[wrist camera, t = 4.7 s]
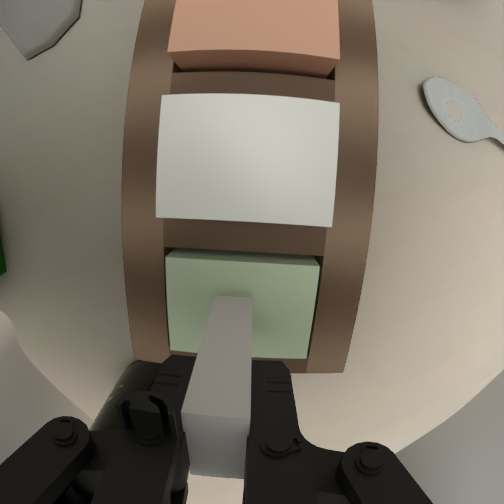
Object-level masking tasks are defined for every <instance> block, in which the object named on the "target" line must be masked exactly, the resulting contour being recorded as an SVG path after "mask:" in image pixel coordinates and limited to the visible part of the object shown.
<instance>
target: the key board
mask: <svg viewBox="0 0 504 504" xmlns="http://www.w3.org/2000/svg"><path fill="white" fill-rule="evenodd" d="M175 4H176V0H145V2H144V6H143V10H142V14H141V19H140V23H139V28H138V33H137V38H136V43H135V49H134V55H133V61H132V67H131V74H130V81H129V88H128V97H127V106H126V116H125V128H124V142H123V160H122V241H123V261H124V275H125V287H126V298H127V307H128V316H129V324H130V331H131V339H132V345H133V352H134V358H135V359H137V360H143V361H150V362H156V363H162V362H164V361H165V360H166V359H167V358H168V357H170V356H171V355H172V354H175V355H183V356H193V357H197V354H198V353H193V352H184V351H175V350H170V339H169V325H168V310H167V291H166V262H165V257H166V256H167V255H168V254H169V253H170V252H171V251H172V250H173V249H175V248H176V247H177V248H194V249H211V250H229V251H246V252H263V253H280V254H298V255H313V257H314V258H315V260H316V261H317V263H318V264H319V266H320V270H319V278H318V285H317V293H316V300H315V307H314V314H313V320H312V327H311V333H310V339H309V345H308V351H307V357H306V359H289V358H260V357H252V360H267V361H282V362H283V363H284V364H285V365H286V367H287V368H288V369H289V370H290V373H343V370H344V367H345V363H346V359H347V355H348V351H349V346H350V342H351V338H352V333H353V329H354V324H355V320H356V315H357V310H358V305H359V300H360V294H361V289H362V283H363V277H364V271H365V265H366V259H367V252H368V245H369V238H370V230H371V221H372V212H373V203H374V192H375V180H376V166H377V147H378V63H377V45H376V32H375V21H374V12H373V3H372V0H338V15H339V40H340V60H339V61H338V63H337V64H336V65H335V67H334V68H333V69H332V71H331V72H330V73H329V75H328V76H327V77H326V79H322V78H314V77H306V76H298V75H288V74H276V73H261V72H232V71H210V72H182V71H181V69H180V68H179V67H178V66H177V64H176V63H175V62H174V60H173V59H172V58H171V56H170V55H169V54H168V53H167V50H168V44H169V37H170V31H171V25H172V20H173V14H174V9H175ZM204 93H225V94H256V95H272V96H285V97H296V98H305V99H314V100H321V101H329V102H335V103H340V114H339V140H338V159H337V175H336V188H335V200H334V211H333V222H332V227H321V226H308V225H293V224H278V223H262V222H245V221H226V220H205V219H182V218H156V175H157V152H158V136H159V122H160V110H161V99H162V95H173V94H204Z"/></svg>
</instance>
